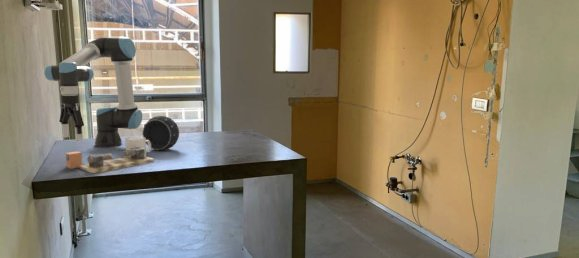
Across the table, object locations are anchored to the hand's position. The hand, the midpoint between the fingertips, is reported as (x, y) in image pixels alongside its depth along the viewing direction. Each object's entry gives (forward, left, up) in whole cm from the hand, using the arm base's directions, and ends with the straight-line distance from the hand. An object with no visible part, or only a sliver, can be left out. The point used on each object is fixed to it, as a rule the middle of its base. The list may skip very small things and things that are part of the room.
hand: (72, 138), depth 210 cm
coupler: (0, 0, -14) cm, 14 cm away
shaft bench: (+12, +16, -14) cm, 24 cm away
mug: (+3, +33, -15) cm, 36 cm away
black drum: (-2, +51, -14) cm, 53 cm away
